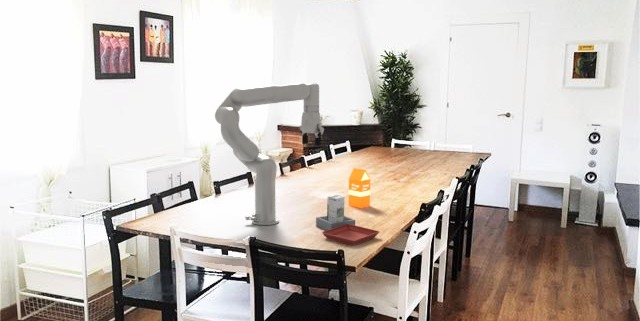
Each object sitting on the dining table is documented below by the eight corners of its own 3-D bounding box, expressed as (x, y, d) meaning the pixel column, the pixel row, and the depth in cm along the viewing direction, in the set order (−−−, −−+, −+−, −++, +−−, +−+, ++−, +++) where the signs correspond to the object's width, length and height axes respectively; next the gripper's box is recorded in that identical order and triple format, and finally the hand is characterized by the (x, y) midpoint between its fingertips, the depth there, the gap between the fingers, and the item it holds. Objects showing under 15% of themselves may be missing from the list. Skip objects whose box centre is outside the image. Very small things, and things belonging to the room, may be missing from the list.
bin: (331, 232, 240) (331, 223, 240) (316, 225, 251) (316, 217, 251) (355, 228, 247) (355, 219, 247) (339, 222, 258) (339, 213, 258)
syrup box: (334, 224, 253) (334, 194, 251) (344, 226, 250) (344, 196, 247) (326, 227, 249) (326, 196, 247) (336, 229, 245) (337, 198, 243)
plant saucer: (354, 248, 220) (354, 240, 219) (320, 239, 231) (321, 231, 231) (380, 238, 233) (380, 231, 232) (347, 230, 245) (347, 223, 244)
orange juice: (357, 203, 299) (358, 167, 296) (370, 205, 292) (370, 169, 289) (348, 205, 293) (348, 168, 290) (360, 208, 287) (361, 170, 284)
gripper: (294, 108, 264) (294, 143, 267) (317, 110, 251) (317, 147, 254) (306, 108, 269) (306, 142, 271) (329, 109, 256) (329, 145, 259)
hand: (311, 144), depth 263 cm, fingers open, 9 cm apart
